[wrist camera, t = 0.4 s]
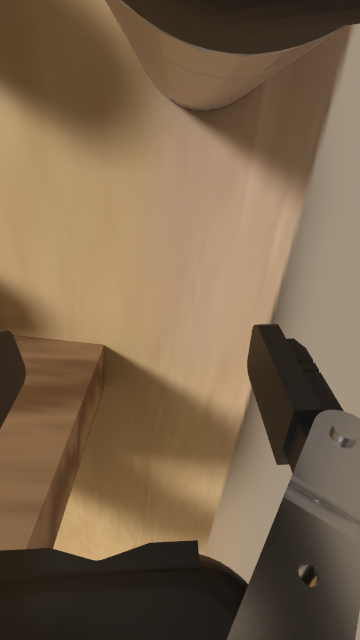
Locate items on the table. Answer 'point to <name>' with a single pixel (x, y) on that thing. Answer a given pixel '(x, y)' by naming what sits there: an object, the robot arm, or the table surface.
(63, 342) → the brown wooden block
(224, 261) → the table surface
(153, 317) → the table surface
